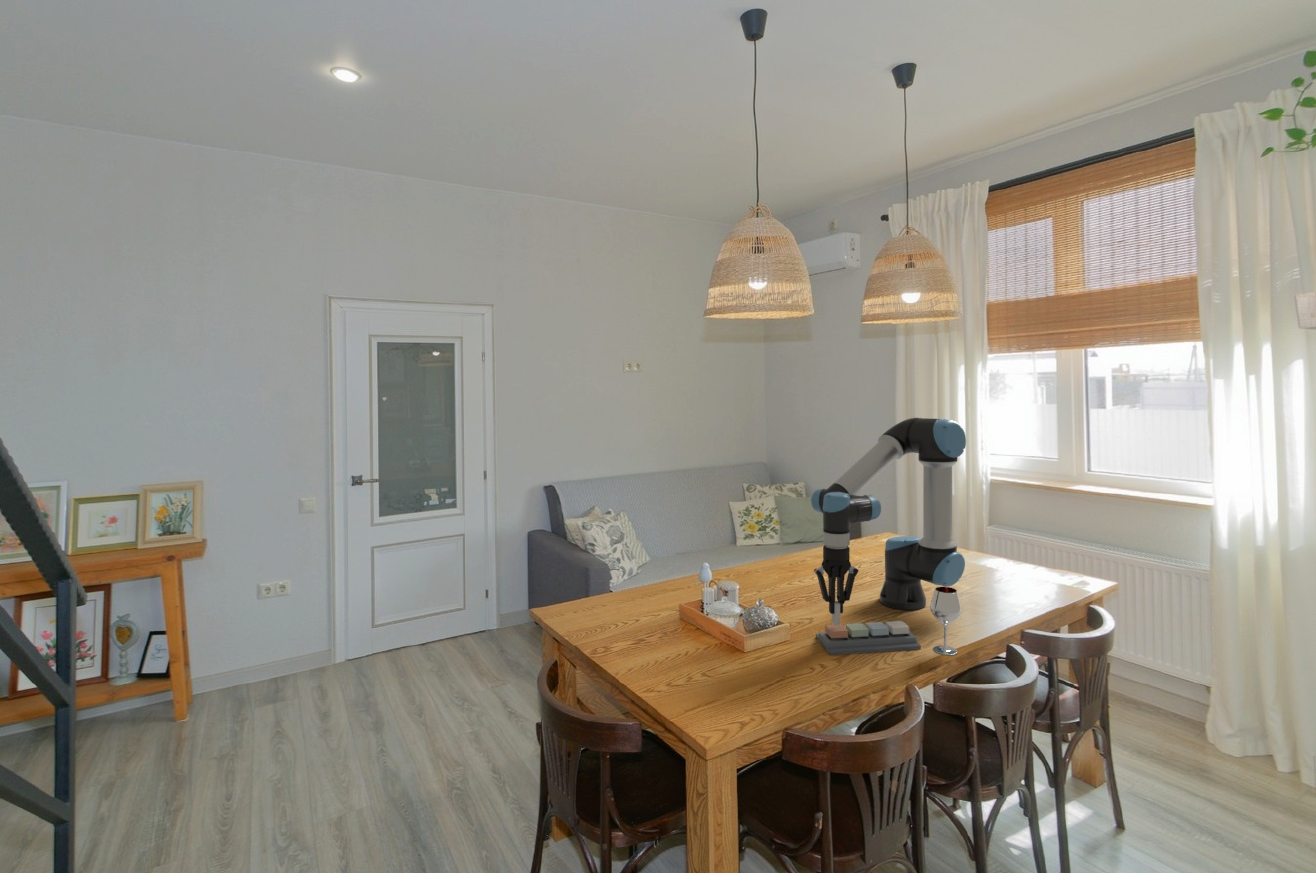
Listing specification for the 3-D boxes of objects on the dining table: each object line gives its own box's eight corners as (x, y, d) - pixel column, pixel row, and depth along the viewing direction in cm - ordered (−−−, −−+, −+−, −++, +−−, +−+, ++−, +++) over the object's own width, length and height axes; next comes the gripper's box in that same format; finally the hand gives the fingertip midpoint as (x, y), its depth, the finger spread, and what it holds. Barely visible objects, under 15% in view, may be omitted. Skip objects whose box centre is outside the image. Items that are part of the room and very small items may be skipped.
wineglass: (942, 658, 189) (943, 595, 187) (923, 646, 196) (924, 587, 195) (967, 654, 191) (968, 592, 189) (947, 643, 199) (948, 583, 197)
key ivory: (901, 627, 203) (901, 620, 203) (909, 633, 198) (909, 626, 198) (885, 628, 203) (885, 621, 203) (892, 634, 198) (892, 627, 198)
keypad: (900, 631, 208) (901, 624, 208) (920, 648, 195) (920, 640, 195) (815, 637, 206) (815, 629, 205) (830, 654, 193) (830, 646, 192)
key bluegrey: (881, 628, 203) (881, 621, 203) (888, 634, 198) (888, 628, 198) (865, 629, 203) (865, 622, 202) (872, 635, 198) (872, 629, 197)
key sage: (861, 629, 202) (861, 623, 202) (868, 635, 197) (868, 629, 197) (845, 630, 202) (845, 624, 202) (851, 637, 197) (851, 630, 197)
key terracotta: (841, 630, 202) (841, 624, 202) (847, 637, 197) (847, 630, 197) (825, 631, 201) (825, 625, 201) (831, 638, 197) (831, 631, 196)
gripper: (853, 541, 201) (852, 618, 203) (810, 543, 200) (810, 620, 202) (862, 547, 193) (862, 627, 196) (818, 549, 192) (818, 629, 195)
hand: (835, 623), depth 199 cm, fingers closed
